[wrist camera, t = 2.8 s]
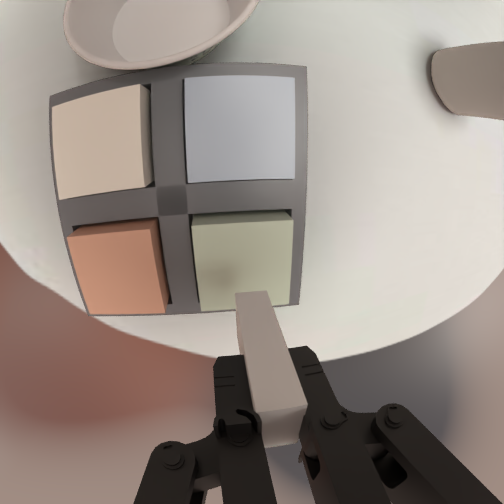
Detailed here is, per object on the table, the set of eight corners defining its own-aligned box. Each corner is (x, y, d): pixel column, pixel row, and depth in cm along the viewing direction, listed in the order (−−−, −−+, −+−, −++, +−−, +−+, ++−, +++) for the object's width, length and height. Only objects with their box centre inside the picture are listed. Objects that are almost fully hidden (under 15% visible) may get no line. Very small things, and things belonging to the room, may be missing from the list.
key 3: (188, 86, 14) (184, 78, 12) (283, 85, 15) (294, 77, 13) (191, 176, 17) (187, 183, 14) (284, 173, 17) (294, 178, 15)
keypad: (75, 100, 15) (49, 96, 12) (289, 78, 17) (306, 66, 14) (102, 290, 22) (88, 315, 18) (286, 279, 24) (298, 304, 20)
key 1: (194, 214, 18) (191, 226, 15) (283, 209, 18) (293, 220, 16) (202, 291, 20) (201, 311, 18) (280, 285, 21) (288, 304, 18)
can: (469, 73, 17) (549, 76, 6) (464, 126, 20) (550, 144, 9) (427, 37, 16) (516, 22, 5) (421, 94, 18) (523, 96, 7)
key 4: (70, 109, 13) (51, 107, 11) (149, 90, 14) (139, 84, 12) (76, 191, 16) (59, 199, 13) (153, 180, 16) (144, 187, 14)
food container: (198, 111, 18) (192, 100, 12) (73, 65, 14) (31, 49, 8) (275, -1, 14) (298, -40, 8) (151, -41, 10) (138, -80, 4)
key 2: (81, 225, 17) (66, 237, 14) (157, 217, 17) (149, 229, 15) (100, 296, 19) (89, 314, 17) (169, 293, 20) (165, 313, 17)
